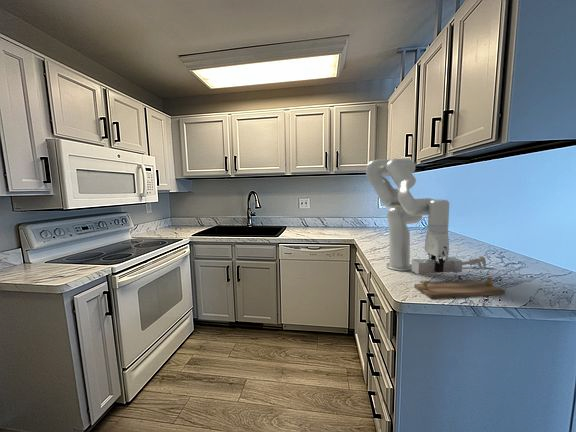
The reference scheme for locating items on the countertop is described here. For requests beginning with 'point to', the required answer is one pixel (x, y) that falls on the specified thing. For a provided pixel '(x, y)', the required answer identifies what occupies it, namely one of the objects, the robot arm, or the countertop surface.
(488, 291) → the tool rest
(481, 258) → the caliper
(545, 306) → the countertop surface
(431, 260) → the light grey block
